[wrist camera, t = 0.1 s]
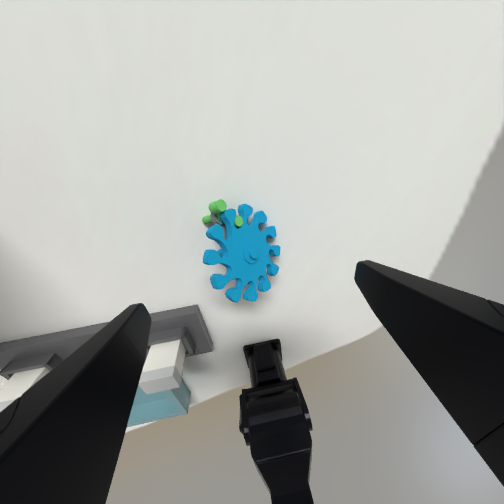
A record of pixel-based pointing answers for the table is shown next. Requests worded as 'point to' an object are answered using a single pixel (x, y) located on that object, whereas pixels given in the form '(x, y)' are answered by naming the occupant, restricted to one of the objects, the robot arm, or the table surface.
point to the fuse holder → (66, 342)
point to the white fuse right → (163, 367)
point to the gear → (240, 250)
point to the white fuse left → (19, 385)
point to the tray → (159, 405)
